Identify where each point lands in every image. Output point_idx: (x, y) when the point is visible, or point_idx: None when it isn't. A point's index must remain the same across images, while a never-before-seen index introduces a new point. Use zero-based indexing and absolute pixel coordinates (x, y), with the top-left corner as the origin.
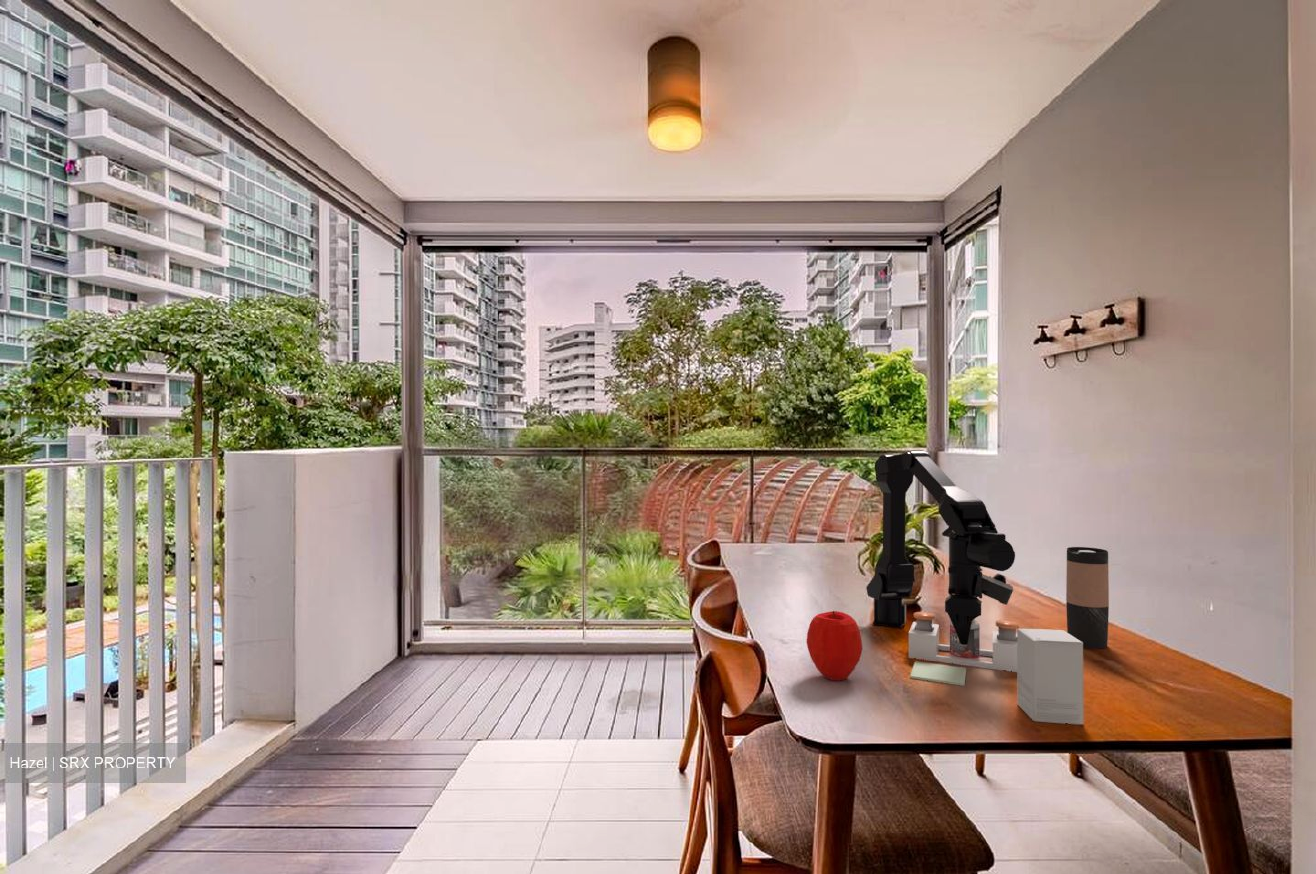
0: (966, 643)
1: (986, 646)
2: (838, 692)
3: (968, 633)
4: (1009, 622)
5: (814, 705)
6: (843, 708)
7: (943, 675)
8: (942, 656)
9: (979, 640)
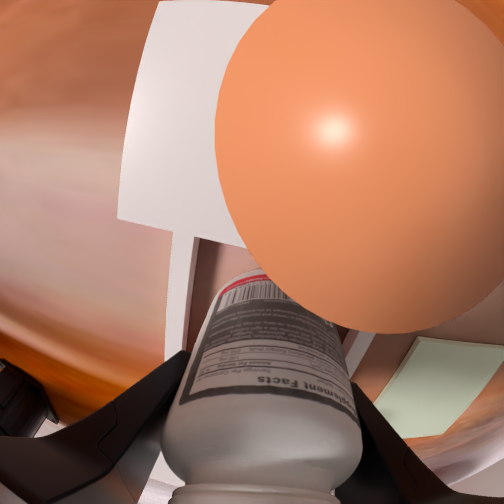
0: (358, 389)
1: (63, 189)
2: (458, 467)
3: (391, 431)
4: (372, 83)
5: (479, 465)
6: (497, 449)
7: (460, 390)
8: None
9: (295, 327)
